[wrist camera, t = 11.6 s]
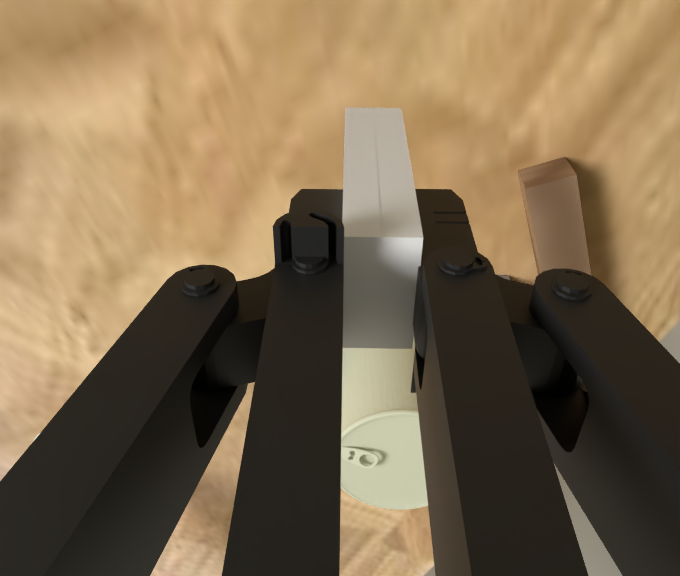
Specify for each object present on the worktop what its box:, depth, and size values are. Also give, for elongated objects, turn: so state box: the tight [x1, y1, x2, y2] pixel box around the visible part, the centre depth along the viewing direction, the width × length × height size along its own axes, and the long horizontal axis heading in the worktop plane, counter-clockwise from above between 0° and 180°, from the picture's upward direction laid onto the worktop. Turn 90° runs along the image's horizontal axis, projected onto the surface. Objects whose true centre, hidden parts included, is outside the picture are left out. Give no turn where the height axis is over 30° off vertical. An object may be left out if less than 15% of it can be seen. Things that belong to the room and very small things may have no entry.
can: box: [341, 337, 428, 510], centre depth 44 cm, size 9×9×12 cm
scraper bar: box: [518, 157, 591, 275], centre depth 44 cm, size 3×18×3 cm, turn 19°
